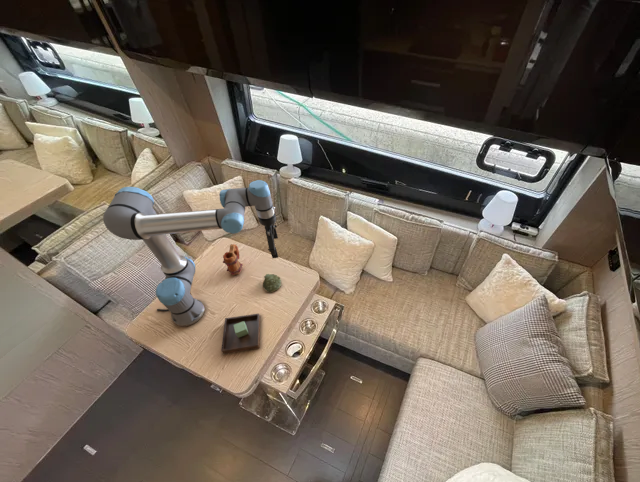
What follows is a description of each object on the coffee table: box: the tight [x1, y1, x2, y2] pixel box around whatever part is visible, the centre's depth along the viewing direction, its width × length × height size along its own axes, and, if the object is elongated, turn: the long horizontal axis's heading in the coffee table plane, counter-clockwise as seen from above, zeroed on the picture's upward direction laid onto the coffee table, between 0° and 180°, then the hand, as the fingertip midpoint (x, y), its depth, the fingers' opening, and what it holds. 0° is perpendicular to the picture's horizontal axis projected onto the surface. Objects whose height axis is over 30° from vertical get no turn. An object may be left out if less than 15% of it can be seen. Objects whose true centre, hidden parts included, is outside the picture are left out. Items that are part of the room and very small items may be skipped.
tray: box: [220, 313, 261, 355], centre depth 136 cm, size 17×18×3 cm
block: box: [234, 321, 249, 338], centre depth 135 cm, size 5×5×5 cm
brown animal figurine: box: [222, 243, 243, 276], centre depth 159 cm, size 15×8×15 cm, turn 179°
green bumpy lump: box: [262, 273, 282, 294], centre depth 156 cm, size 10×7×10 cm
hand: (275, 247), depth 138 cm, fingers open, 13 cm apart
